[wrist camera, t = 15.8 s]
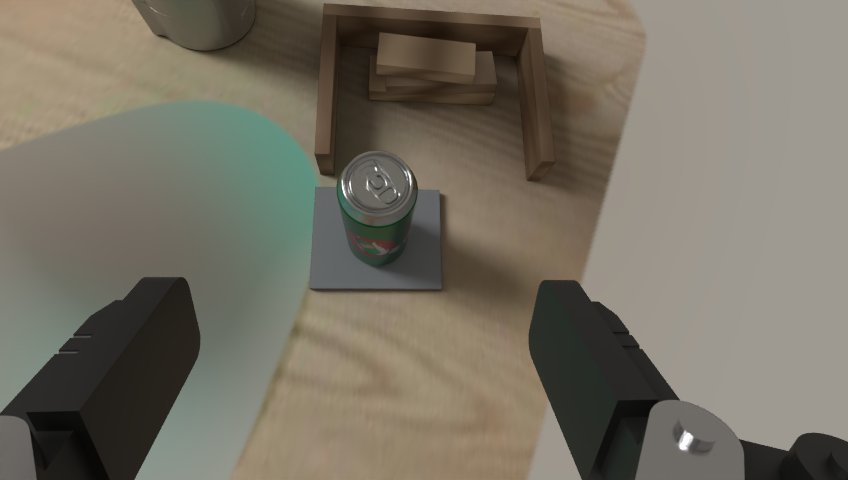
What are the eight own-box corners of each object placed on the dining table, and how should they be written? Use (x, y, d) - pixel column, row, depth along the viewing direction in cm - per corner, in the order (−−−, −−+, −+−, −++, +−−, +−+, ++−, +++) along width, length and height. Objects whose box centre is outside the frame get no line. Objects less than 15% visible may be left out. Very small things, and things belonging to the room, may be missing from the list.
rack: (320, 174, 40) (314, 153, 36) (328, 35, 44) (323, 3, 40) (539, 180, 42) (555, 161, 38) (526, 47, 46) (539, 17, 42)
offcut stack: (369, 103, 42) (368, 75, 38) (370, 62, 43) (369, 31, 39) (491, 109, 43) (502, 82, 39) (488, 69, 45) (499, 39, 41)
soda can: (381, 200, 39) (382, 129, 27) (418, 242, 38) (436, 187, 27) (335, 235, 37) (317, 176, 26) (373, 279, 37) (372, 239, 25)
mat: (310, 289, 37) (309, 288, 36) (316, 189, 39) (315, 186, 39) (440, 289, 38) (441, 288, 37) (438, 192, 40) (439, 190, 40)
